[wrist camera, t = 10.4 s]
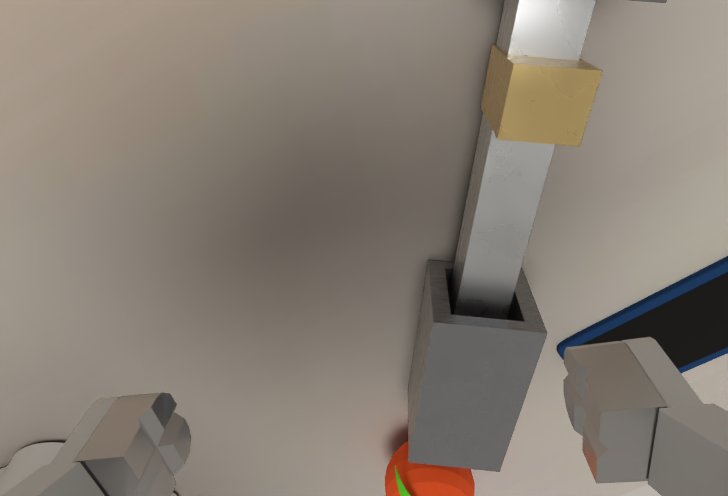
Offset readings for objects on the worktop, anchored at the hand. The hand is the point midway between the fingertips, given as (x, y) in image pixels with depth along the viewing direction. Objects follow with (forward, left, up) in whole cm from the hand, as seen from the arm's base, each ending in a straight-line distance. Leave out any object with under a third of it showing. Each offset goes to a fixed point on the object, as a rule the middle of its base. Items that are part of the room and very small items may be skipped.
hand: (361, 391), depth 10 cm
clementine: (-27, -5, -19) cm, 33 cm away
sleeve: (-15, -6, -19) cm, 25 cm away
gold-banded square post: (-1, -6, -19) cm, 20 cm away
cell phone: (-12, -20, -20) cm, 31 cm away
